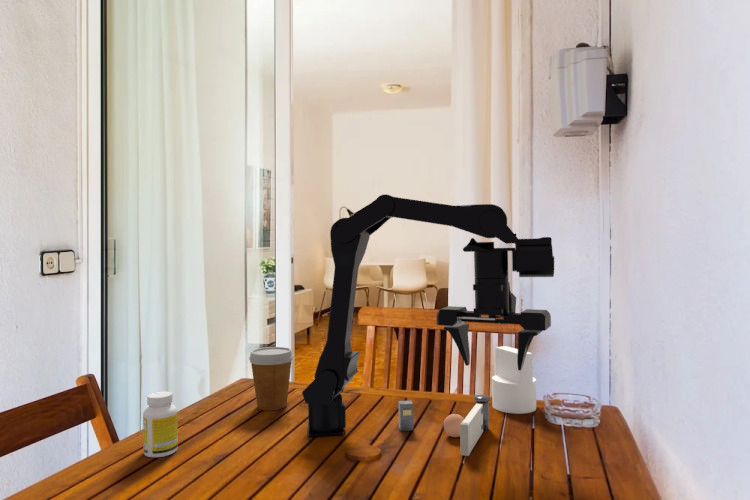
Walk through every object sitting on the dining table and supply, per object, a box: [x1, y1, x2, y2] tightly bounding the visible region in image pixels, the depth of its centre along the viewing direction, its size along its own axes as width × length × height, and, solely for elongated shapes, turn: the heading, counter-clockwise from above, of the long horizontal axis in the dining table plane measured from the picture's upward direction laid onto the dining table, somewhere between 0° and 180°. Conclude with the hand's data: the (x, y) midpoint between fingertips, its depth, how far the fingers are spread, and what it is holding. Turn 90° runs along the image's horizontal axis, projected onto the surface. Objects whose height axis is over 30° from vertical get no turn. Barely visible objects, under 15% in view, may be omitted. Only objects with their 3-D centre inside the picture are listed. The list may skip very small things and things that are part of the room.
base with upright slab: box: [491, 345, 537, 415], centre depth 112 cm, size 9×9×12 cm
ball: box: [443, 413, 465, 438], centre depth 95 cm, size 4×4×4 cm
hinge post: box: [473, 394, 491, 432], centre depth 99 cm, size 3×3×6 cm
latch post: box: [397, 400, 414, 432], centre depth 99 cm, size 2×2×5 cm
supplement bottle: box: [142, 391, 179, 458], centre depth 90 cm, size 5×5×10 cm
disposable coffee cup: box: [248, 346, 295, 411], centre depth 115 cm, size 10×10×12 cm
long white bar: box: [459, 403, 484, 457], centre depth 92 cm, size 12×1×5 cm, turn 157°
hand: (493, 367), depth 92 cm, fingers open, 9 cm apart
